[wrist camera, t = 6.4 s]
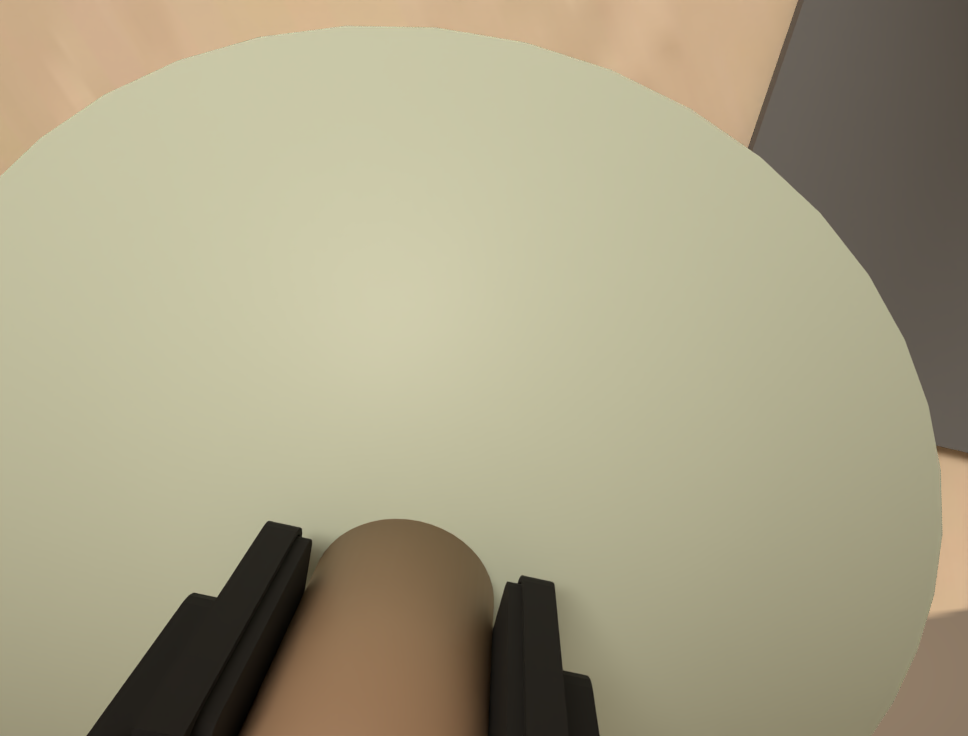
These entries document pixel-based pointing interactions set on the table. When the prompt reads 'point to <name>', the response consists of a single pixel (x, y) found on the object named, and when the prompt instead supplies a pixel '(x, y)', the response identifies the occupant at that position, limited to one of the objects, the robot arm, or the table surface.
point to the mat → (887, 165)
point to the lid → (450, 396)
